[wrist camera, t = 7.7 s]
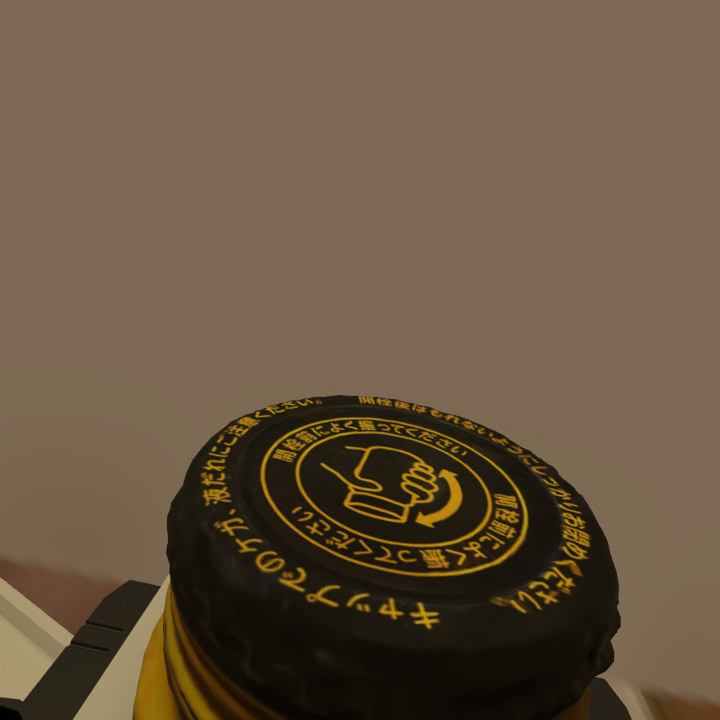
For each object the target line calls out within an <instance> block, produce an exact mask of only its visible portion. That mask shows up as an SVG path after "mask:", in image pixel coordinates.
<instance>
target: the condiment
mask: <svg viewBox="0 0 720 720" xmlns="http://www.w3.org/2000/svg"><path fill="white" fill-rule="evenodd" d="M167 532H168V544H167V551H166V554H167V557H168V561H169V564H170V582H169V585H168V589H167V593H166V600H165V608H164V612H163V614H162V615H161V617H160V619H159V621H158V622H157V624H156V626H155V627H154V629H153V631H152V634H151V637H150V640H149V643H148V646H147V648H146V650H145V653H144V657H143V663H142V667H141V672H140V676H139V681H138V686H137V692H136V697H135V701H134V705H133V717H132V720H589V715H588V709H589V704H590V692H591V681H592V679H593V678H594V677H595V676H597V675H599V674H601V673H603V672H605V671H606V670H607V669H608V668H609V667H610V666H611V665H612V663H613V662H614V650H613V647H612V644H611V641H610V640H611V639H612V638H613V636H614V635H615V634H616V633H617V631H618V629H619V628H620V626H621V617H620V615H619V612H618V609H617V605H618V603H619V600H618V594H619V583H618V577H617V572H616V569H615V566H614V563H613V560H612V557H611V554H610V550H609V545H608V541H607V539H606V537H605V535H604V533H603V531H602V529H601V527H600V526H599V524H598V522H597V520H596V518H595V516H594V514H593V512H592V511H591V509H590V507H589V506H588V504H587V502H586V501H585V499H584V498H583V496H582V495H580V494H579V493H578V492H577V491H576V490H575V488H574V487H573V486H571V484H569V483H568V482H567V481H565V480H564V479H563V478H562V477H561V476H560V475H559V474H558V472H557V470H556V469H555V468H554V467H552V466H551V465H549V464H547V463H546V462H544V461H543V460H542V459H540V458H538V457H537V456H536V455H534V454H533V453H532V452H531V451H529V450H527V449H524V448H522V447H520V446H519V445H517V444H516V443H514V442H512V441H511V440H509V439H508V438H506V437H505V436H504V435H502V434H500V433H498V432H496V431H494V430H491V429H489V428H486V427H485V426H483V425H480V424H477V423H475V422H473V421H470V420H468V419H465V418H462V417H459V416H456V415H452V414H447V413H443V412H440V411H437V410H434V409H433V408H431V407H426V406H420V405H416V404H413V403H407V402H403V401H399V400H396V399H386V398H379V397H362V396H343V395H337V396H327V397H312V398H308V399H306V398H305V399H302V400H294V401H288V402H285V403H280V404H275V405H272V406H268V407H266V408H264V409H262V410H257V411H255V412H254V413H251V414H247V415H244V416H242V417H240V418H238V419H236V420H234V421H231V422H230V423H229V424H228V425H227V426H226V427H224V428H223V429H222V430H220V431H219V432H218V433H216V434H215V435H214V436H213V437H211V438H210V440H209V441H208V442H207V443H206V444H205V445H204V446H203V447H202V449H201V450H200V451H199V452H198V454H197V455H196V456H195V458H194V459H193V460H192V462H191V464H190V466H189V468H188V471H187V473H186V476H185V480H184V483H183V486H182V487H181V489H180V490H179V492H178V493H177V495H176V496H175V498H174V499H173V501H172V503H171V507H170V511H169V513H168V516H167Z"/></svg>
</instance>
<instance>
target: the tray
mask: <svg viewBox="0 0 720 720" xmlns="http://www.w3.org/2000/svg"><path fill="white" fill-rule="evenodd" d="M73 637H74V636H73V635H72V634H71V633H69V632H68V631H67V630H66V629H64V628H63V627H62V626H61V625H59V624H58V623H57V622H55V621H54V620H53V619H52V618H50V617H49V616H48V615H47V614H45V613H44V612H43V611H42V610H40V609H39V608H38V607H37V606H35V605H34V604H33V603H32V602H30V601H29V600H28V599H27V598H25V597H24V596H23V595H22V594H20V593H19V592H18V591H17V590H15V589H14V588H13V587H12V586H10V585H9V584H8V583H6V582H5V581H4V580H3V579H1V578H0V697H3V698H13V699H20V700H21V701H24V699H25V698H26V697H27V696H28V694H29V693H30V692H31V691H32V689H33V688H34V687H35V685H36V684H37V683H38V682H39V680H40V679H41V678H42V677H43V675H44V674H45V673H46V671H47V670H48V669H49V668H50V666H51V665H52V664H53V663H54V661H55V660H56V659H57V658H58V656H59V655H60V654H61V652H62V651H63V650H64V649H65V647H66V646H69V644H70V642H71V640H72V638H73Z"/></svg>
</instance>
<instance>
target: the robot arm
mask: <svg viewBox="0 0 720 720" xmlns="http://www.w3.org/2000/svg"><path fill="white" fill-rule="evenodd" d="M169 582H170V574H169V576H168V577H167V578H166V580H165V581H164V583H163V584H162V586H156V585H151V584H147V583H142V582H137V581H133V580H129V581H127V582H126V583H125V584H123V585H122V586H120V587H119V588H118V589H116V590H115V591H113V592H112V593H110V594H109V595H108V596H106V597H105V598H104V599H103V600H102V602H101V603H100V604H99V605H98V607H97V608H96V609H95V611H94V612H93V613H92V614H91V616H90V617H89V618H88V619H87V621H86V624H85V625H84V626H82V627H81V628H80V630H79V631H78V632H77V633H76V635H75V636H74V637H73V638H72V640H71V642H70V644H69V646H66V647H65V649H64V650H63V651H62V652H61V654H60V655H59V656H58V658H57V659H56V660H55V661H54V663H53V664H52V665H51V666H50V668H49V669H48V670H47V671H46V673H45V674H44V675H43V677H42V678H41V679H40V680H39V682H38V683H37V684H36V685H35V687H34V688H33V689H32V691H31V692H30V693H29V694H28V696H27V697H26V698H25V699H24V701H21V700H20V699H13V698H3V697H0V720H132V717H133V705H134V701H135V697H136V692H137V686H138V681H139V676H140V672H141V667H142V663H143V657H144V653H145V650H146V648H147V646H148V643H149V640H150V637H151V634H152V631H153V629H154V627H155V626H156V624H157V622H158V621H159V619H160V617H161V615H162V614H163V612H164V608H165V600H166V593H167V589H168V585H169ZM588 715H589V720H632V719H631V717H630V715H629V712H628V710H627V708H626V706H625V705H624V704H623V702H622V701H621V700H620V699H619V697H618V696H617V695H616V693H615V692H614V691H613V689H612V688H611V687H610V685H609V684H608V683H607V681H606V680H605V679H602V678H598V677H594V678H593V679H592V681H591V692H590V704H589V709H588Z"/></svg>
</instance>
